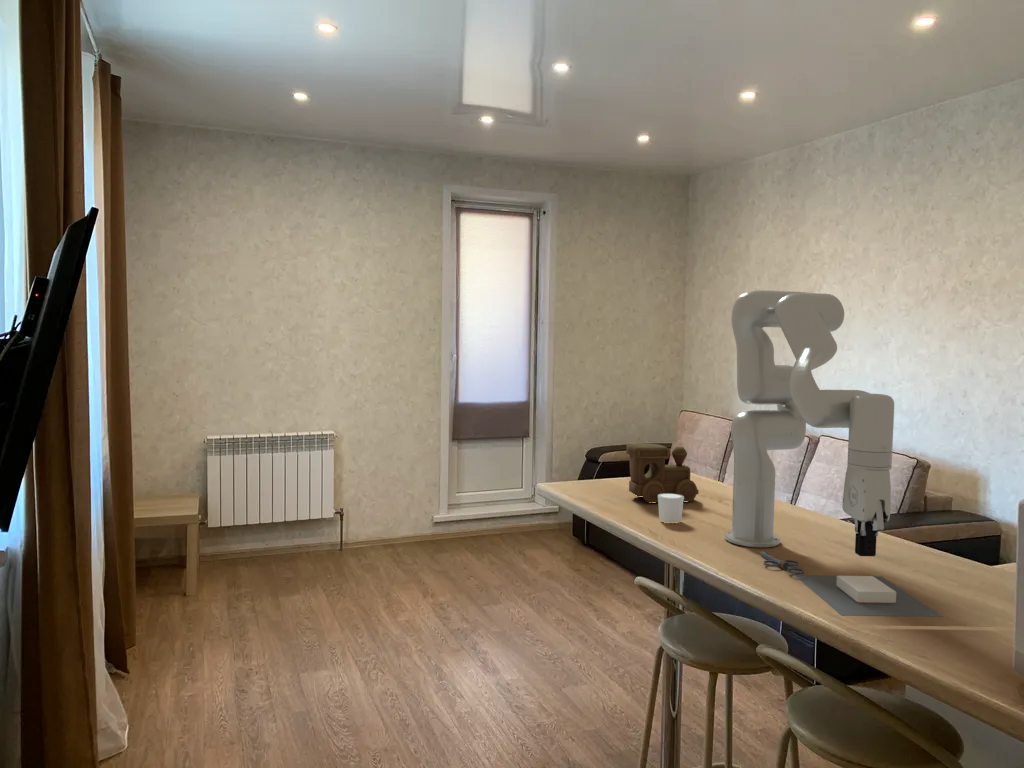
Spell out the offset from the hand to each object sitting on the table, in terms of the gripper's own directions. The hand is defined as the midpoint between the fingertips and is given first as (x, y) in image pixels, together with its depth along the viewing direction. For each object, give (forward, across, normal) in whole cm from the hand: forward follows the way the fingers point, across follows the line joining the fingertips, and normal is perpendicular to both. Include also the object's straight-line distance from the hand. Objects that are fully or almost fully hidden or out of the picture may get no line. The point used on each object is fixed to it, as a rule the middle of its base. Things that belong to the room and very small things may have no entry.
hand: (865, 554), depth 141 cm
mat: (+8, 0, 0) cm, 8 cm away
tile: (+6, -4, 0) cm, 7 cm away
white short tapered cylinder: (+8, -56, -25) cm, 62 cm away
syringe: (+8, -18, -10) cm, 22 cm away
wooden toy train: (+8, -82, -22) cm, 85 cm away
